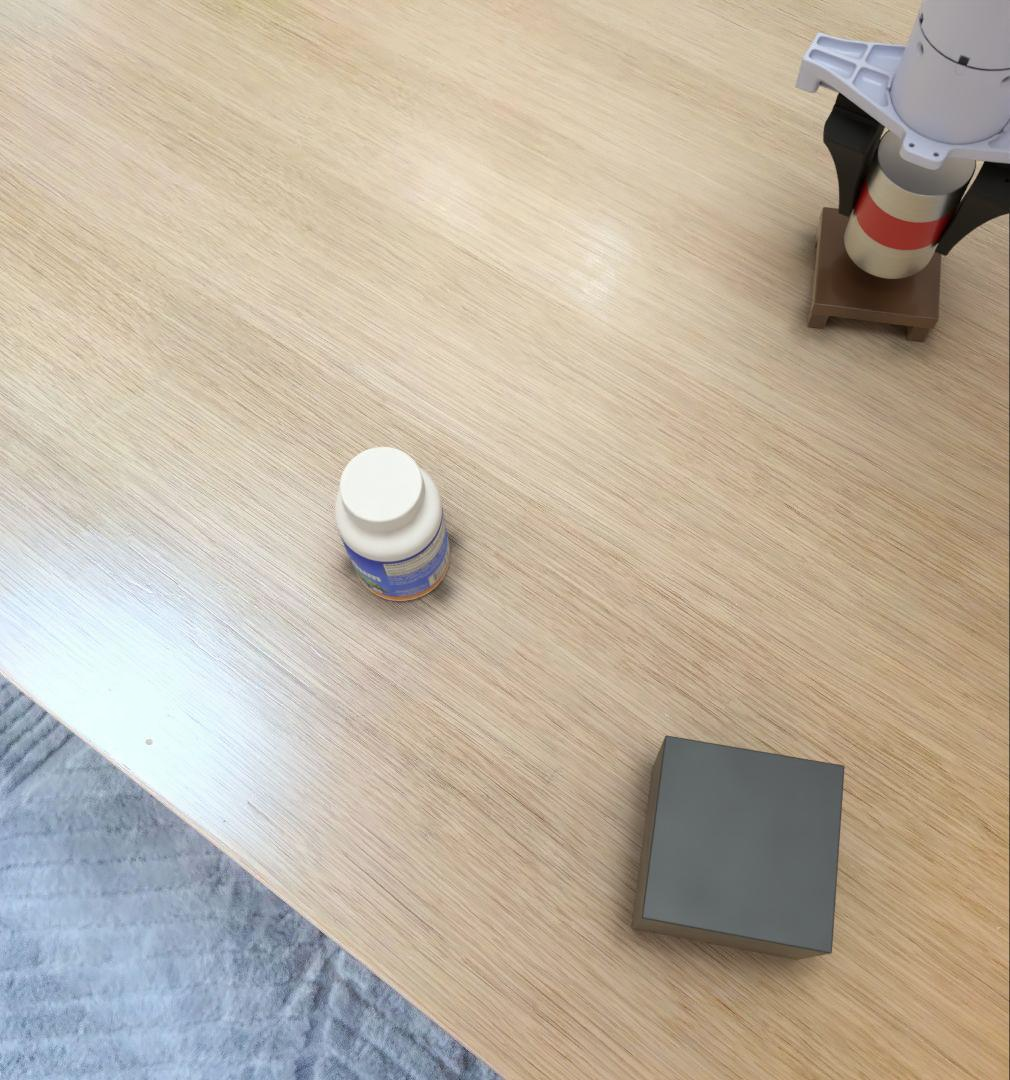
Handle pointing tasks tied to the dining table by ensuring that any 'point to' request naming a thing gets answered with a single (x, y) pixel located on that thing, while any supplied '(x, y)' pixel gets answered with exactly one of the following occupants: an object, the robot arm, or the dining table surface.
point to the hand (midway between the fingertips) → (897, 221)
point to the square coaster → (741, 849)
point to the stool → (869, 286)
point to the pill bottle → (392, 524)
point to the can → (903, 211)
